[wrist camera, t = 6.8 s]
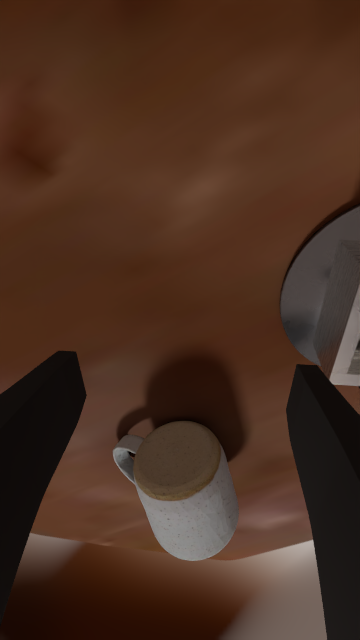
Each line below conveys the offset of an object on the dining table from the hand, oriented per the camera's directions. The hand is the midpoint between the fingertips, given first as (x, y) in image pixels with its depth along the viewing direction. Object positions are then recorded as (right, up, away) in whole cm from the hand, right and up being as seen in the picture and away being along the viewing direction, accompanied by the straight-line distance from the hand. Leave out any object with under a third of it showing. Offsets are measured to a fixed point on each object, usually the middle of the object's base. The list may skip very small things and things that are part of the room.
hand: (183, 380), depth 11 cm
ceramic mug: (0, -10, +19) cm, 21 cm away
